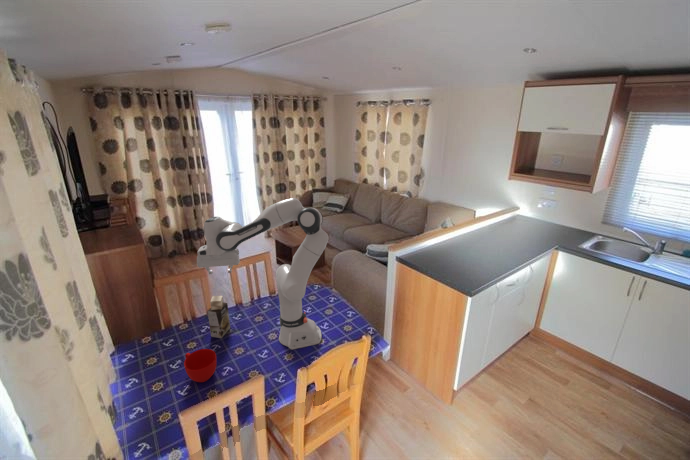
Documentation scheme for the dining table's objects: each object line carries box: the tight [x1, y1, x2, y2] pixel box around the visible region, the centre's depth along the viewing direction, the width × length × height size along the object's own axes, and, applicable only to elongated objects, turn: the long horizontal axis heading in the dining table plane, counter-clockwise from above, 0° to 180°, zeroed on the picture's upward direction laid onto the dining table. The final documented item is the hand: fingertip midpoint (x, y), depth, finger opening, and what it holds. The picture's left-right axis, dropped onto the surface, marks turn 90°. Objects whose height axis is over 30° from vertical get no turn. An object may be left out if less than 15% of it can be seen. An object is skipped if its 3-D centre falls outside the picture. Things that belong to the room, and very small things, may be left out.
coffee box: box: [207, 302, 231, 339], centre depth 169 cm, size 9×6×16 cm
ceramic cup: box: [183, 348, 218, 383], centre depth 142 cm, size 13×17×10 cm
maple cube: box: [209, 295, 225, 310], centre depth 165 cm, size 5×5×5 cm
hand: (220, 273), depth 165 cm, fingers open, 8 cm apart
